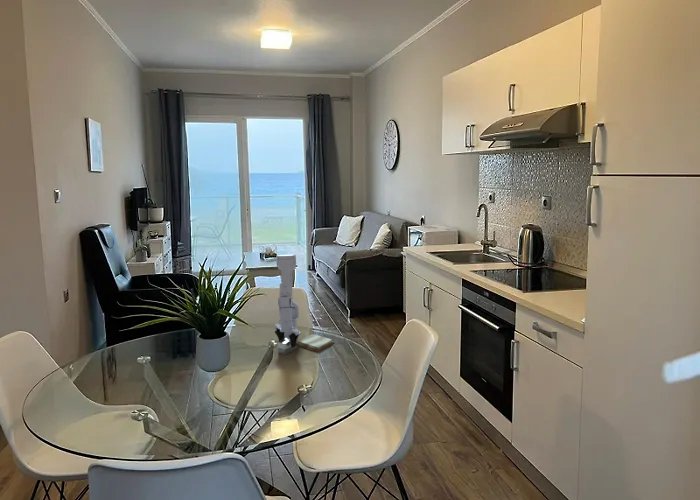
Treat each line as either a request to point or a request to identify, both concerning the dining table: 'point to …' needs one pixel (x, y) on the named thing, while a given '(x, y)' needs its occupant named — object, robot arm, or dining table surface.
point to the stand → (315, 342)
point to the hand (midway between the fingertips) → (287, 345)
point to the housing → (285, 346)
